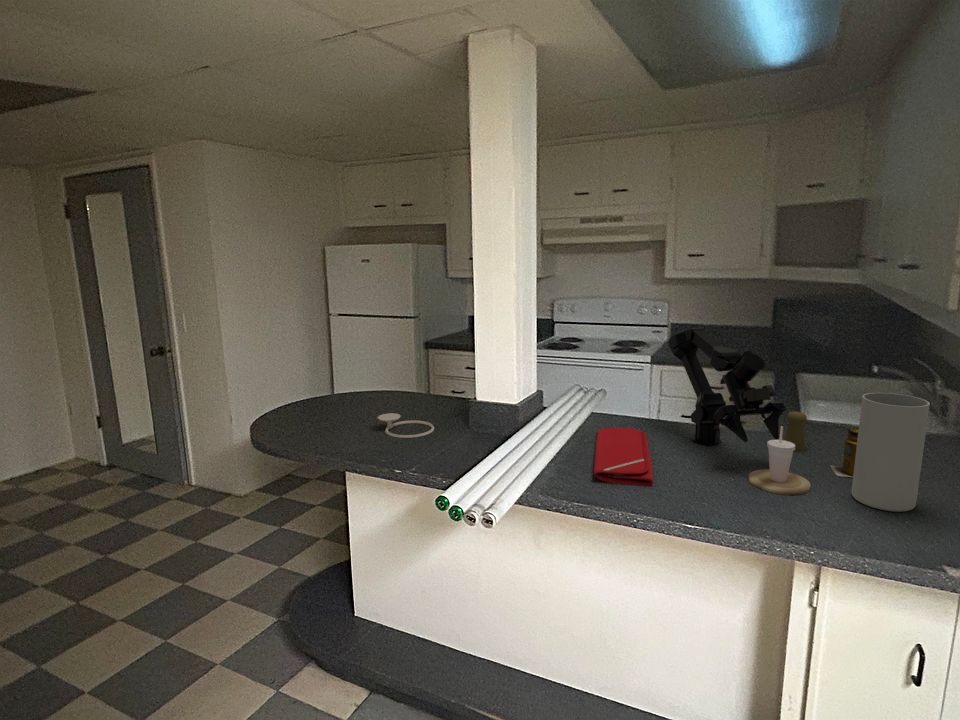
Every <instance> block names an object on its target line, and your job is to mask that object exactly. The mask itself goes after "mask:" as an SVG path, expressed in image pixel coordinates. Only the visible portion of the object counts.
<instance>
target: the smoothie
mask: <svg viewBox="0 0 960 720" xmlns="http://www.w3.org/2000/svg"><path fill="white" fill-rule="evenodd" d="M779 427H780V429H779V439H777V440H776V439H770V440H768V441H767V442H766V443H767V444H766V446H767V448H768V450H767V451H768V462H769V465H768V466H769V469H770V479H771V480H773V481H776V482H786V480H787V476H788V472H789V471H790V466H791V463H792V459H793V455H794V450H795V444H793V443H791V442H789V441H784V439H783V433H784V426H782V425H781V426H779Z"/></svg>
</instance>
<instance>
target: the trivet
mask: <svg viewBox="0 0 960 720" xmlns="http://www.w3.org/2000/svg"><path fill="white" fill-rule="evenodd" d="M748 482H749V483H750V484H751V485H752V486H754V487H755V488H756V489H759V490H763V491H764V492H769V493H772V494H776V495H783V496H785V495H786V496H797V495H798V496H799V495H804V494H807V493H809V492H810V489H811V483H810V481H809V480H808V479H806V478H805V477H804V476H801V475H800V474H799V475H798V474H795V473H793V472H789V471H788V476H787V480H786V482H776V481H773V480H771V479H770V468H768V469H757V470H754V471H753V470H752V471H751V472H750V473H749V474H748Z"/></svg>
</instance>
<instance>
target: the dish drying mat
mask: <svg viewBox="0 0 960 720" xmlns="http://www.w3.org/2000/svg"><path fill="white" fill-rule="evenodd" d="M596 435H597V436H596V441H595V452H594V453H595V454H594V462H593V464H594V466H593V474H594V475H593V476H594V477H595V478H596V479H598V480H600V481H602V482H605V483H608V484H614V485H615V484H618V485H630V486H631V485H632V486H644V487H653V483H654V475H653V474H654V473H653V472H654V471H653V465H652V459H651V453H650V445H649V441H648V436H647V433H646V432H645V431H642V430H640V429H636V428H632V427H604V428H600V429H598V430H597V433H596Z"/></svg>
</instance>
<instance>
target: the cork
mask: <svg viewBox="0 0 960 720" xmlns="http://www.w3.org/2000/svg"><path fill="white" fill-rule="evenodd" d="M807 420H808V417H807V415H806V414H805V413H804V412H801V411H795V410H794V411H789V412H788V413H787V415H786V421H788V423H787V427H786V431H785V434H784V439H783V440H784V441H789V442H791V443H793V444H795V450H794V451H797V452H802V451H805V450H806V436H805V435H806V434H805V432H806V431H805V423H807ZM794 451H793V452H794Z"/></svg>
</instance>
